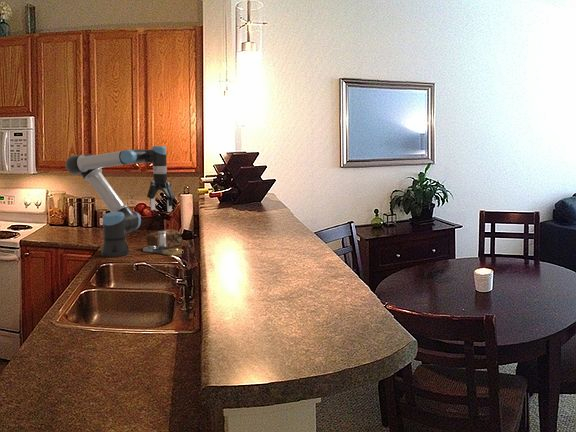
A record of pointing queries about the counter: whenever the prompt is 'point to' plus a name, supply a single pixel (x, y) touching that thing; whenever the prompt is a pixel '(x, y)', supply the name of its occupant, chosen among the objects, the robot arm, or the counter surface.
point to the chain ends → (167, 251)
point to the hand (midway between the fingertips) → (161, 210)
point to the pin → (162, 240)
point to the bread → (171, 238)
